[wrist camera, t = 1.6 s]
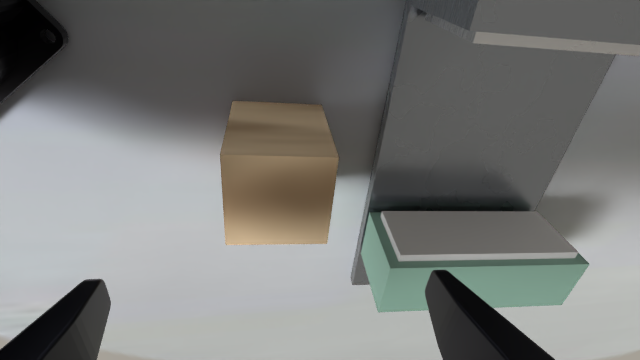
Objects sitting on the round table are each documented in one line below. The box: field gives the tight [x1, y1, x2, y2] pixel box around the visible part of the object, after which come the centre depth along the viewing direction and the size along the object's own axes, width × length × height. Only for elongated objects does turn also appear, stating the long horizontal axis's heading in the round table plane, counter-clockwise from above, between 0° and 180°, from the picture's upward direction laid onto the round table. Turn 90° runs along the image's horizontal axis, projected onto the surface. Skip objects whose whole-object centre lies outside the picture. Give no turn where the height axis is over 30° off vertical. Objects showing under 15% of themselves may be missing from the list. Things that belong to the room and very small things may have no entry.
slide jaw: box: [361, 211, 589, 312], centre depth 19 cm, size 3×10×4 cm, turn 85°
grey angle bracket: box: [351, 0, 640, 285], centre depth 16 cm, size 22×10×6 cm, turn 174°
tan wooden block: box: [220, 101, 339, 245], centre depth 15 cm, size 4×4×5 cm
